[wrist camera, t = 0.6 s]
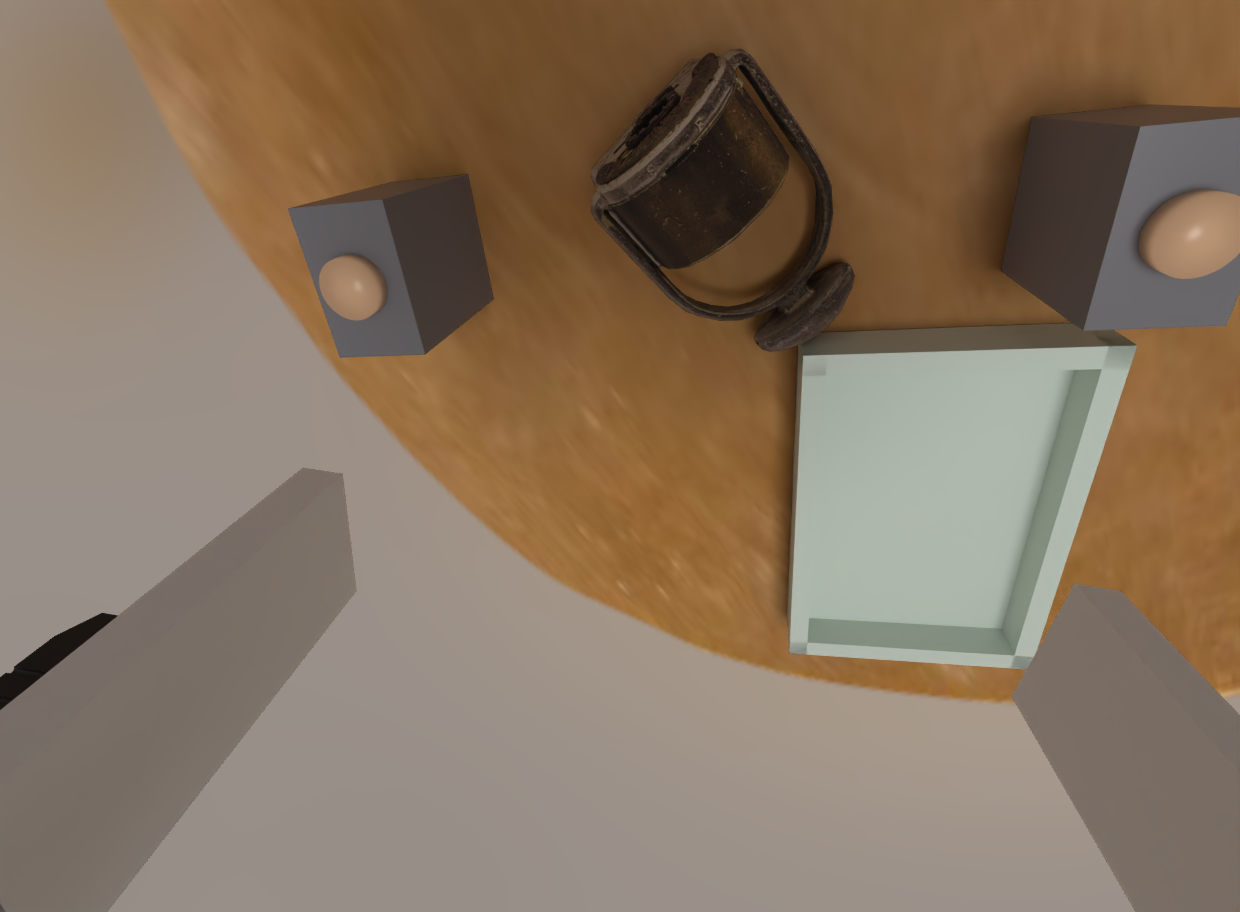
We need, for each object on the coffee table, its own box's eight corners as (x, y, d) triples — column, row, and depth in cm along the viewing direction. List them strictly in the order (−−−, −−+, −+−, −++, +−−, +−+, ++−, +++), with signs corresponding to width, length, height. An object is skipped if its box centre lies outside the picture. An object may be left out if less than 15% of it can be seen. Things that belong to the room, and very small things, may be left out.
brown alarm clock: (839, -45, 19) (540, 88, 20) (919, 345, 23) (668, 433, 24) (783, 24, 25) (561, 122, 27) (853, 316, 30) (659, 387, 31)
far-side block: (467, 174, 29) (370, 202, 22) (494, 298, 32) (416, 361, 25) (392, 181, 30) (273, 212, 23) (424, 302, 33) (328, 364, 25)
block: (1149, 104, 23) (1335, 110, 16) (1103, 265, 26) (1243, 334, 19) (1031, 116, 24) (1156, 128, 17) (1000, 270, 27) (1094, 339, 20)
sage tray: (1101, 321, 27) (1137, 345, 25) (1011, 629, 37) (1030, 669, 34) (798, 333, 30) (803, 355, 27) (786, 617, 39) (789, 653, 37)
